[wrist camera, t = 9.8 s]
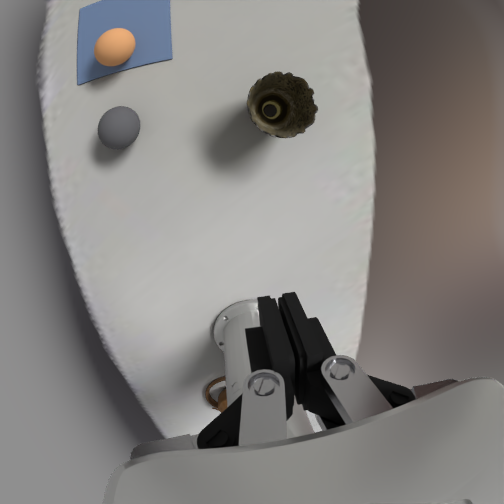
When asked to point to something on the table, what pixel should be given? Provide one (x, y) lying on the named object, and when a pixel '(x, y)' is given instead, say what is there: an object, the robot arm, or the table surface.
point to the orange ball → (114, 47)
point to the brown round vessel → (282, 104)
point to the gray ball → (119, 127)
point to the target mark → (132, 19)
